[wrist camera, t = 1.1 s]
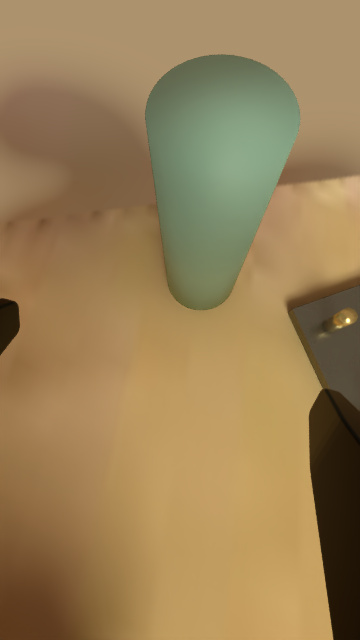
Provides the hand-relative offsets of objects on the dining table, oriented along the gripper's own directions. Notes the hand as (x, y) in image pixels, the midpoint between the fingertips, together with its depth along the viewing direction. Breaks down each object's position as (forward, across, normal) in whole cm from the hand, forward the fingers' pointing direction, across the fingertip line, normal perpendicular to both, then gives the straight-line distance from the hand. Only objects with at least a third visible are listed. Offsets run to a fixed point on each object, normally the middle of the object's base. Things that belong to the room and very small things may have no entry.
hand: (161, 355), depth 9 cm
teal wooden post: (+15, 0, +3) cm, 15 cm away
